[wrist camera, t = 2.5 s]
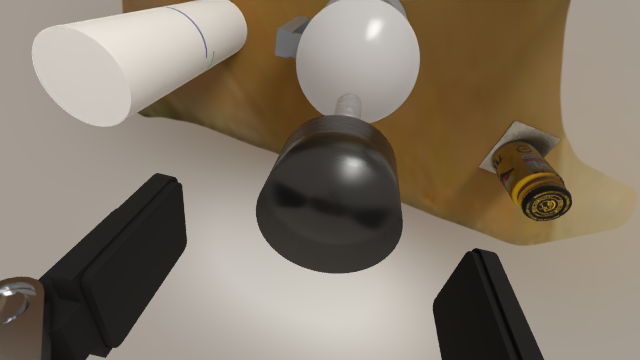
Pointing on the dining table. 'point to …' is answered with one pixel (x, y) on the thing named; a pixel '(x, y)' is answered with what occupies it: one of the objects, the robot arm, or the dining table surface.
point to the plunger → (333, 194)
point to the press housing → (354, 55)
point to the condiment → (529, 172)
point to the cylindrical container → (134, 56)
